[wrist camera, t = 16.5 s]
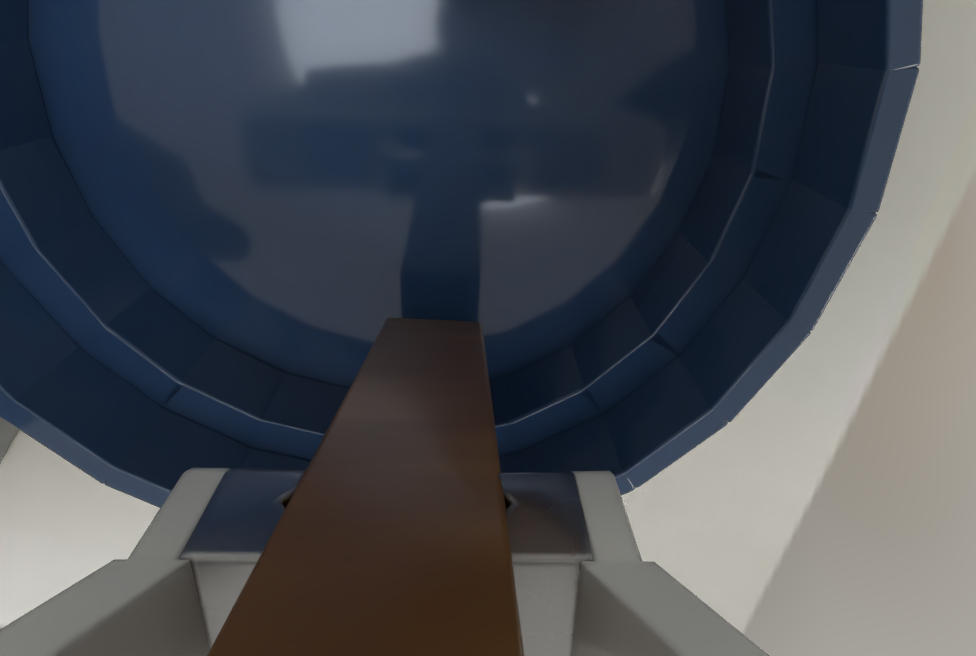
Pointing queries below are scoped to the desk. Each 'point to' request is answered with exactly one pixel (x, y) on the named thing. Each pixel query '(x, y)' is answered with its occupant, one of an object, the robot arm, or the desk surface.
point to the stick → (393, 518)
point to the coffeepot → (6, 436)
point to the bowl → (426, 214)
